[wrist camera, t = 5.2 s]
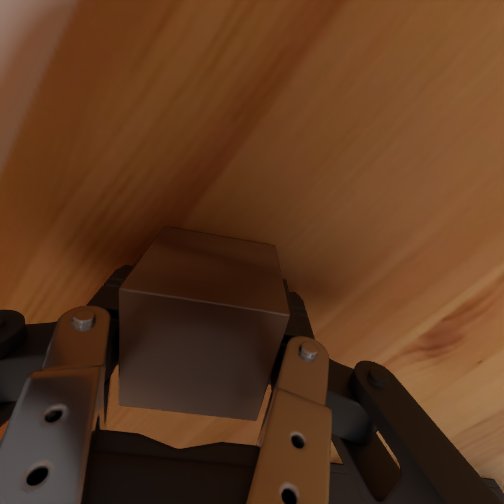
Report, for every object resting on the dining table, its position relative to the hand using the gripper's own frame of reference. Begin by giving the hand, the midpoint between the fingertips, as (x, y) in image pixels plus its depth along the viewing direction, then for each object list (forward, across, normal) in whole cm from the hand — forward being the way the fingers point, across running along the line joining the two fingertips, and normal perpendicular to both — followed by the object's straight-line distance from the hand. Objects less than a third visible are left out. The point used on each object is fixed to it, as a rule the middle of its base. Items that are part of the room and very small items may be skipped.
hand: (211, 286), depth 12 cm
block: (0, 0, 0) cm, 0 cm away
